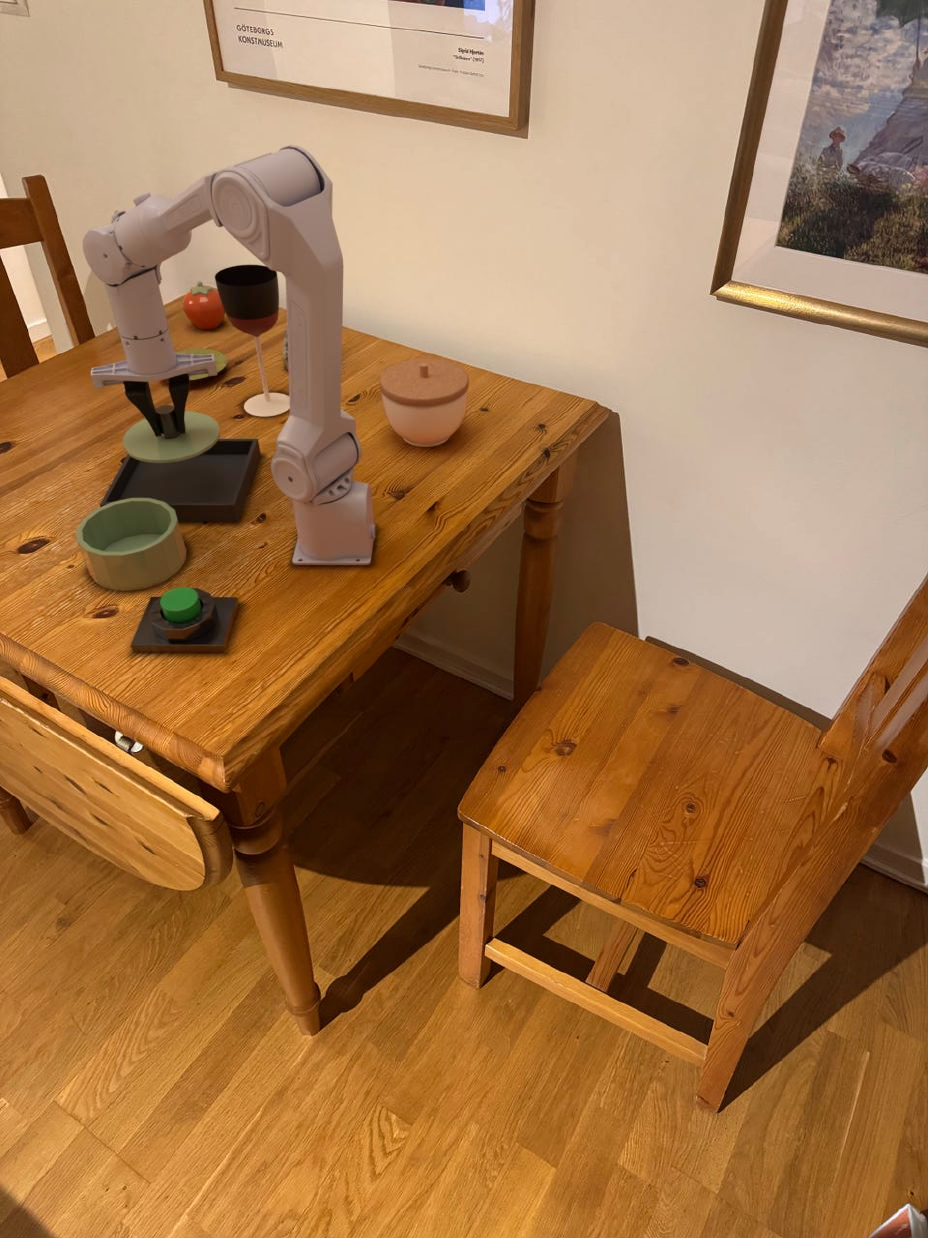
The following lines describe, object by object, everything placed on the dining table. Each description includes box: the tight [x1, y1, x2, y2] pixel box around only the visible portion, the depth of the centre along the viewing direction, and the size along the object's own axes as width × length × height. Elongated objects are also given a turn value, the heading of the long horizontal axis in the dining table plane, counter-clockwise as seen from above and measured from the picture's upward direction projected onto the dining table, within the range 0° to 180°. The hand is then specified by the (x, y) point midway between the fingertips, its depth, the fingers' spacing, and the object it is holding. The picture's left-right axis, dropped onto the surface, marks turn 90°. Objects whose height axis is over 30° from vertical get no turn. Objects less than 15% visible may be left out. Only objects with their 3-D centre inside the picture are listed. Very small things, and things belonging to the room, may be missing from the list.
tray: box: [99, 438, 262, 523], centre depth 116 cm, size 17×16×3 cm
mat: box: [175, 347, 228, 381], centre depth 141 cm, size 11×11×2 cm
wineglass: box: [214, 264, 290, 417], centre depth 127 cm, size 8×9×20 cm
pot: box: [75, 498, 187, 592], centre depth 104 cm, size 11×11×5 cm
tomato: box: [182, 280, 226, 331], centre depth 153 cm, size 7×7×8 cm
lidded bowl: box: [378, 357, 470, 448], centre depth 123 cm, size 13×13×11 cm
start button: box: [160, 586, 201, 622], centre depth 94 cm, size 4×4×2 cm
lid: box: [122, 404, 221, 463], centre depth 110 cm, size 12×12×5 cm
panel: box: [130, 587, 240, 654], centre depth 96 cm, size 10×8×3 cm
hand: (170, 430), depth 111 cm, fingers closed on lid, 2 cm apart
